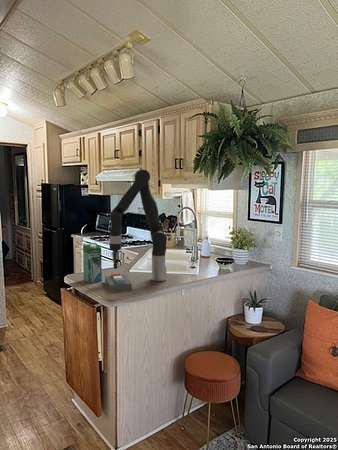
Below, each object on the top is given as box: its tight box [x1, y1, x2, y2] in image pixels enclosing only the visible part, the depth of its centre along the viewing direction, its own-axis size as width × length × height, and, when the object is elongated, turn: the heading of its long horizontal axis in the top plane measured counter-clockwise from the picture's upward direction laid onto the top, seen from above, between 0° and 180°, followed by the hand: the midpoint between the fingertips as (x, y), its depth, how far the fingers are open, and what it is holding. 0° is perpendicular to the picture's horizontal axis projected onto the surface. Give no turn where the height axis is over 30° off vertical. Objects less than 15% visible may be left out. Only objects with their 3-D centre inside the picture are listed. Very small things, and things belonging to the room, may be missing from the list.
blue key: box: [115, 278, 125, 285], centre depth 202 cm, size 5×5×3 cm
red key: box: [110, 271, 121, 278], centre depth 215 cm, size 5×5×3 cm
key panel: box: [104, 274, 133, 293], centre depth 209 cm, size 13×22×4 cm, turn 19°
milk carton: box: [82, 242, 103, 284], centre depth 218 cm, size 9×9×25 cm
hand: (115, 268), depth 215 cm, fingers closed
